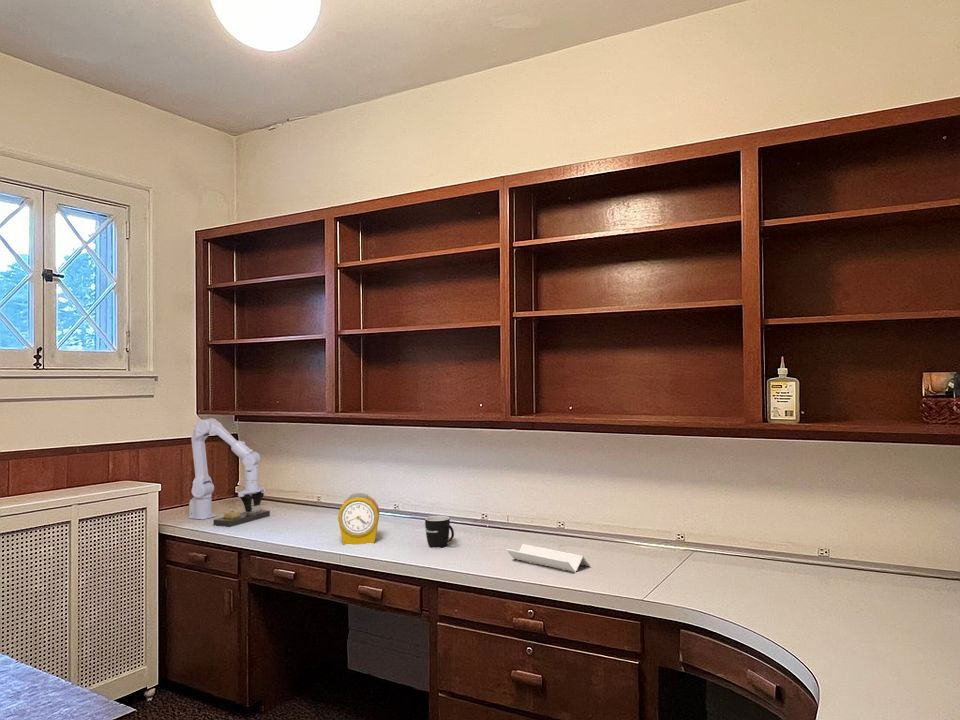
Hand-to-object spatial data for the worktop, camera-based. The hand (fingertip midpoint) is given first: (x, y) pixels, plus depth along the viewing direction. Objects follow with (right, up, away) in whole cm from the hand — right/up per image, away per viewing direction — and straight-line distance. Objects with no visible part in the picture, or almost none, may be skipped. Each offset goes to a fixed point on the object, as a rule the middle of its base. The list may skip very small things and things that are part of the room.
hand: (252, 510), depth 325 cm
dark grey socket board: (-3, -3, -5) cm, 7 cm away
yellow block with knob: (-5, -3, -11) cm, 12 cm away
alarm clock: (+55, -2, -49) cm, 74 cm away
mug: (+87, -1, -58) cm, 104 cm away
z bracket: (+123, -1, -84) cm, 149 cm away
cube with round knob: (0, -3, 0) cm, 3 cm away
